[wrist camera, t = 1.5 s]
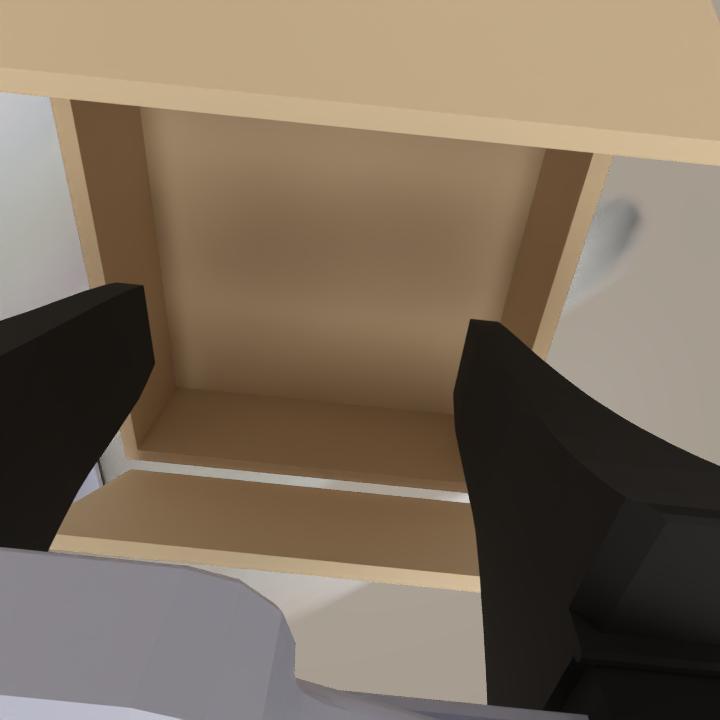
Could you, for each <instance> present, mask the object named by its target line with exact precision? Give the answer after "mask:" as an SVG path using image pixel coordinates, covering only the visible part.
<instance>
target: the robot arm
mask: <svg viewBox="0 0 720 720" xmlns="http://www.w3.org/2000/svg"><path fill="white" fill-rule="evenodd" d="M154 365H155V358H154V351H153V345H152V338H151V331H150V324H149V318H148V311H147V304H146V298H145V291H144V285H137V284H127V283H117V282H116V283H111V284H106V285H102V286H99V287H96V288H93V289H90V290H87V291H84V292H81V293H78V294H75V295H73V296H70V297H67V298H64V299H61V300H59V301H56V302H53V303H51V304H48V305H45V306H42V307H40V308H37V309H34V310H31V311H28V312H26V313H22V314H19V315H16V316H13V317H10V318H7V319H4V320H1V321H0V720H720V466H718V465H716V464H714V463H711V462H709V461H707V460H704V459H702V458H700V457H698V456H695V455H693V454H691V453H689V452H687V451H685V450H683V449H681V448H678V447H676V446H674V445H672V444H670V443H668V442H666V441H665V440H663V439H661V438H659V437H657V436H655V435H653V434H651V433H649V432H647V431H645V430H644V429H641V428H640V427H638V426H636V425H635V424H633V423H631V422H629V421H628V420H626V419H624V418H623V417H621V416H619V415H618V414H616V413H614V412H613V411H611V410H610V409H608V408H607V407H605V406H603V405H602V404H600V403H599V402H597V401H596V400H594V399H593V398H591V397H590V396H588V395H587V394H586V393H584V392H583V391H581V390H580V389H579V388H578V387H576V386H575V385H574V384H572V383H571V382H570V381H568V380H567V379H566V378H564V377H563V376H562V375H561V374H559V373H558V372H557V371H556V370H554V369H553V368H552V367H550V365H548V364H547V363H546V362H545V361H544V360H542V359H541V358H540V357H539V356H538V355H537V354H536V353H534V352H533V351H532V350H531V349H530V348H529V347H528V346H526V345H525V344H524V343H523V342H522V341H521V340H520V339H519V338H517V337H516V336H515V335H514V334H513V333H512V332H511V331H509V330H508V329H507V328H506V327H505V326H503V325H502V324H501V323H499V322H498V321H488V320H478V319H470V321H469V326H468V330H467V334H466V339H465V343H464V348H463V352H462V356H461V361H460V365H459V369H458V374H457V378H456V382H455V387H454V391H453V406H454V422H455V432H456V438H457V443H458V448H459V452H460V457H461V462H462V467H463V471H464V476H465V481H466V486H467V490H468V495H469V500H470V504H471V509H472V514H473V520H474V526H475V533H476V543H477V554H478V564H479V575H480V588H481V599H482V614H483V628H484V646H485V663H486V682H487V705H482V704H471V703H461V702H451V701H441V700H432V699H422V698H411V697H401V696H391V695H381V694H371V693H361V692H351V691H341V690H336V689H332V688H329V687H325V686H322V685H318V684H315V683H311V682H308V681H305V680H301V679H298V678H295V673H294V671H295V670H294V669H295V645H296V643H295V640H294V638H293V636H292V634H291V631H290V629H289V626H288V624H287V622H286V619H285V617H284V615H283V613H282V611H281V610H280V609H279V608H278V607H277V606H276V605H275V604H274V603H273V602H271V601H270V600H268V599H267V598H265V597H264V596H262V595H261V594H260V593H258V592H257V591H255V590H254V589H252V588H251V587H249V586H248V585H246V584H245V583H244V582H242V581H241V580H239V579H236V578H232V577H228V576H224V575H221V574H217V573H213V572H209V571H205V570H201V569H198V568H194V567H190V566H183V565H173V564H163V563H153V562H143V561H133V560H123V559H113V558H103V557H93V556H83V555H73V554H63V553H53V552H48V550H49V548H50V546H51V544H52V542H53V540H54V538H55V536H56V534H57V532H58V530H59V528H60V526H61V524H62V522H63V520H64V518H65V516H66V514H67V512H68V510H69V508H70V506H71V505H72V503H74V502H76V501H78V500H79V499H81V498H83V497H85V496H86V495H88V494H90V493H91V492H93V491H95V490H97V489H98V488H100V487H102V486H103V483H102V479H101V475H100V471H99V467H98V463H97V461H98V460H99V458H100V457H101V455H102V454H103V453H104V451H105V450H106V448H107V447H108V445H109V444H110V442H111V441H112V439H113V438H114V436H115V435H116V433H117V432H118V430H119V429H120V427H121V426H122V424H123V423H124V421H125V420H126V418H127V417H128V415H129V414H130V412H131V411H132V409H133V408H134V406H135V405H136V403H137V402H138V400H139V398H140V396H141V394H142V392H143V390H144V388H145V386H146V384H147V382H148V379H149V377H150V375H151V372H152V370H153V368H154Z"/></svg>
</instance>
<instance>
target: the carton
mask: <svg viewBox="0 0 720 720" xmlns="http://www.w3.org/2000/svg"><path fill="white" fill-rule="evenodd" d="M50 101H51V106H52V111H53V116H54V120H55V125H56V130H57V134H58V139H59V144H60V149H61V153H62V158H63V163H64V168H65V172H66V177H67V182H68V186H69V191H70V196H71V201H72V205H73V210H74V215H75V220H76V224H77V229H78V234H79V238H80V243H81V248H82V253H83V257H84V262H85V267H86V272H87V276H88V281H89V286H90V289H93V288H96V287H99V286H102V285H106V284H111V283H116V282H117V283H127V284H137V285H144V291H145V298H146V304H147V311H148V318H149V324H150V331H151V338H152V345H153V351H154V358H155V365H154V368H153V370H152V372H151V375H150V377H149V379H148V382H147V384H146V386H145V388H144V390H143V392H142V394H141V396H140V398H139V400H138V402H137V403H136V405H135V406H134V408H133V409H132V411H131V412H130V414H129V415H128V417H127V418H126V420H125V421H124V423H123V424H122V426H121V427H120V432H121V437H122V442H123V446H124V451H125V456H126V459H133V460H143V461H153V462H163V463H173V464H183V465H193V466H203V467H213V468H223V469H233V470H243V471H253V472H263V473H273V474H283V475H293V476H303V477H313V478H323V479H333V480H343V481H353V482H363V483H373V484H383V485H392V486H404V487H413V488H422V489H432V490H443V491H452V492H462V493H468V490H467V486H466V481H465V476H464V471H463V467H462V462H461V457H460V452H459V448H458V443H457V438H456V432H455V422H454V406H453V391H454V387H455V382H456V378H457V374H458V369H459V365H460V361H461V356H462V352H463V348H464V343H465V339H466V334H467V330H468V326H469V321H470V319H478V320H488V321H498V322H499V323H501V324H502V325H503V326H505V327H506V328H507V329H508V330H509V331H511V332H512V333H513V334H514V335H515V336H516V337H517V338H519V339H520V340H521V341H522V342H523V343H524V344H525V345H526V346H528V347H529V348H530V349H531V350H532V351H533V352H534V353H536V354H537V355H538V356H539V357H540V358H541V359H542V360H544V361H545V360H546V357H547V354H548V351H549V348H550V345H551V342H552V339H553V336H554V333H555V330H556V327H557V324H558V321H559V318H560V315H561V312H562V309H563V306H564V303H565V300H566V297H567V294H568V291H569V288H570V285H571V282H572V279H573V276H574V273H575V270H576V267H577V264H578V261H579V258H580V255H581V252H582V249H583V246H584V243H585V240H586V237H587V234H588V231H589V228H590V225H591V222H592V219H593V216H594V213H595V210H596V207H597V204H598V201H599V198H600V195H601V192H602V189H603V186H604V183H605V180H606V177H607V174H608V171H609V168H610V165H611V162H612V159H613V156H614V155H609V154H600V153H590V152H580V151H570V150H561V149H551V148H541V147H531V146H522V145H512V144H502V143H493V142H483V141H473V140H463V139H454V138H444V137H434V136H424V135H415V134H405V133H395V132H385V131H376V130H366V129H356V128H346V127H337V126H327V125H317V124H307V123H298V122H288V121H278V120H268V119H259V118H249V117H239V116H229V115H220V114H210V113H200V112H191V111H181V110H171V109H161V108H152V107H142V106H132V105H122V104H113V103H103V102H93V101H83V100H74V99H64V98H54V97H50Z"/></svg>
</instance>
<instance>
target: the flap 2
mask: <svg viewBox="0 0 720 720" xmlns="http://www.w3.org/2000/svg"><path fill="white" fill-rule="evenodd" d="M49 549H51V550H61V551H71V552H81V553H91V554H101V555H111V556H121V557H131V558H141V559H151V560H161V561H171V562H181V563H191V564H201V565H211V566H221V567H231V568H241V569H251V570H261V571H271V572H281V573H291V574H301V575H311V576H321V577H331V578H341V579H351V580H361V581H371V582H381V583H391V584H401V585H412V586H422V587H432V588H442V589H452V590H462V591H472V592H481V588H480V575H479V564H478V554H477V543H476V533H475V526H474V520H473V514H472V509H471V504H470V503H461V502H451V501H441V500H431V499H421V498H411V497H401V496H391V495H381V494H371V493H361V492H351V491H341V490H331V489H321V488H311V487H301V486H291V485H281V484H271V483H261V482H251V481H242V480H232V479H222V478H212V477H202V476H192V475H182V474H172V473H162V472H152V471H142V470H132V469H131V470H129V471H128V472H126V473H124V474H122V475H121V476H119V477H117V478H116V479H114V480H112V481H110V482H109V483H107V484H105V485H103V486H102V487H100V488H98V489H97V490H95V491H93V492H91V493H90V494H88V495H86V496H85V497H83V498H81V499H79V500H78V501H76V502H74V503H72V505H71V506H70V508H69V510H68V512H67V514H66V516H65V518H64V520H63V522H62V524H61V526H60V528H59V530H58V532H57V534H56V536H55V538H54V540H53V542H52V544H51V546H50V548H49Z"/></svg>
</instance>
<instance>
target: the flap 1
mask: <svg viewBox="0 0 720 720" xmlns="http://www.w3.org/2000/svg"><path fill="white" fill-rule="evenodd" d="M0 92H5V93H15V94H25V95H35V96H44V97H54V98H64V99H74V100H83V101H93V102H103V103H113V104H122V105H132V106H142V107H152V108H161V109H171V110H181V111H191V112H200V113H210V114H220V115H229V116H239V117H249V118H259V119H268V120H278V121H288V122H298V123H307V124H317V125H327V126H337V127H346V128H356V129H366V130H376V131H385V132H395V133H405V134H415V135H424V136H434V137H444V138H454V139H463V140H473V141H483V142H493V143H502V144H512V145H522V146H531V147H541V148H551V149H561V150H570V151H580V152H590V153H600V154H609V155H619V156H630V157H639V158H649V159H658V160H659V159H660V160H668V161H679V162H688V163H697V164H707V165H717V166H720V22H719V20H718V17H717V15H716V12H715V10H714V7H713V5H712V2H711V0H0Z"/></svg>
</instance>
